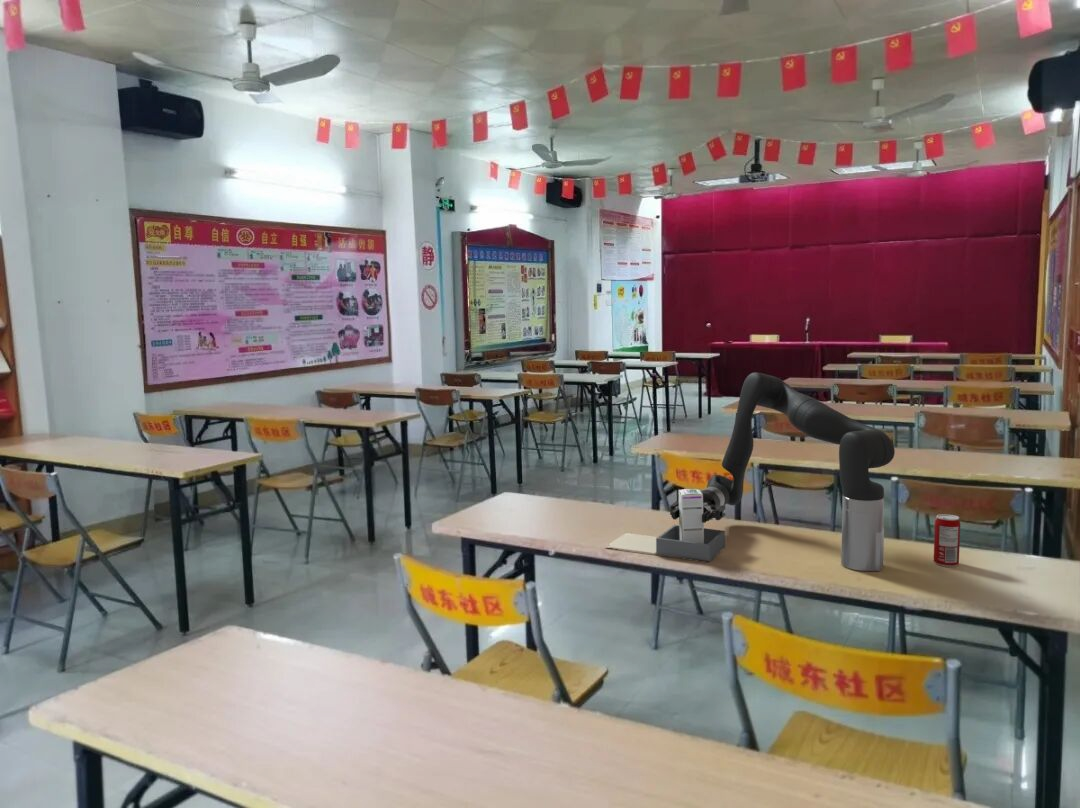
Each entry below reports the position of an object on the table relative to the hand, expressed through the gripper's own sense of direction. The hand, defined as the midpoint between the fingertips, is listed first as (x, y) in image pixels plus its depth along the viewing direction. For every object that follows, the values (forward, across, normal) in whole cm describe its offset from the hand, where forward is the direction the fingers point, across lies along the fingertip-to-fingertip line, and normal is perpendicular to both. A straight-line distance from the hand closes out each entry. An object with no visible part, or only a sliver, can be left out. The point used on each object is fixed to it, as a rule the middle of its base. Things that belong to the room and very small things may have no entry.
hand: (688, 517), depth 203 cm
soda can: (-18, +59, +10) cm, 63 cm away
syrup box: (-2, 0, +8) cm, 8 cm away
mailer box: (-2, -7, +10) cm, 12 cm away
